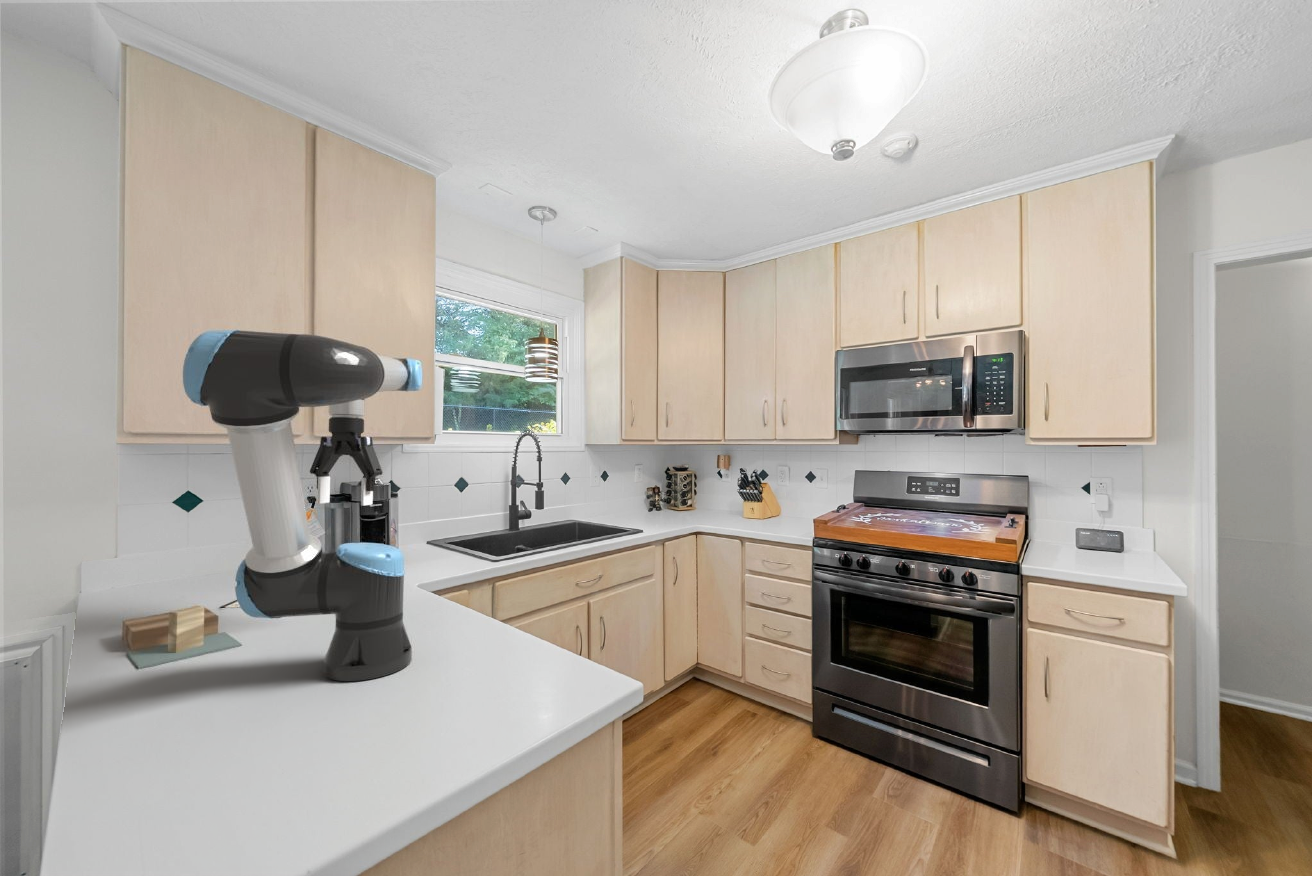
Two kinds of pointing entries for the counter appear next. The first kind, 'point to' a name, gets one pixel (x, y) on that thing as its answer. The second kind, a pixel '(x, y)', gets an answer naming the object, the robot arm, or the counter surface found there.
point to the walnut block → (158, 630)
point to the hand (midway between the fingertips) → (344, 504)
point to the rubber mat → (162, 655)
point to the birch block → (185, 628)
